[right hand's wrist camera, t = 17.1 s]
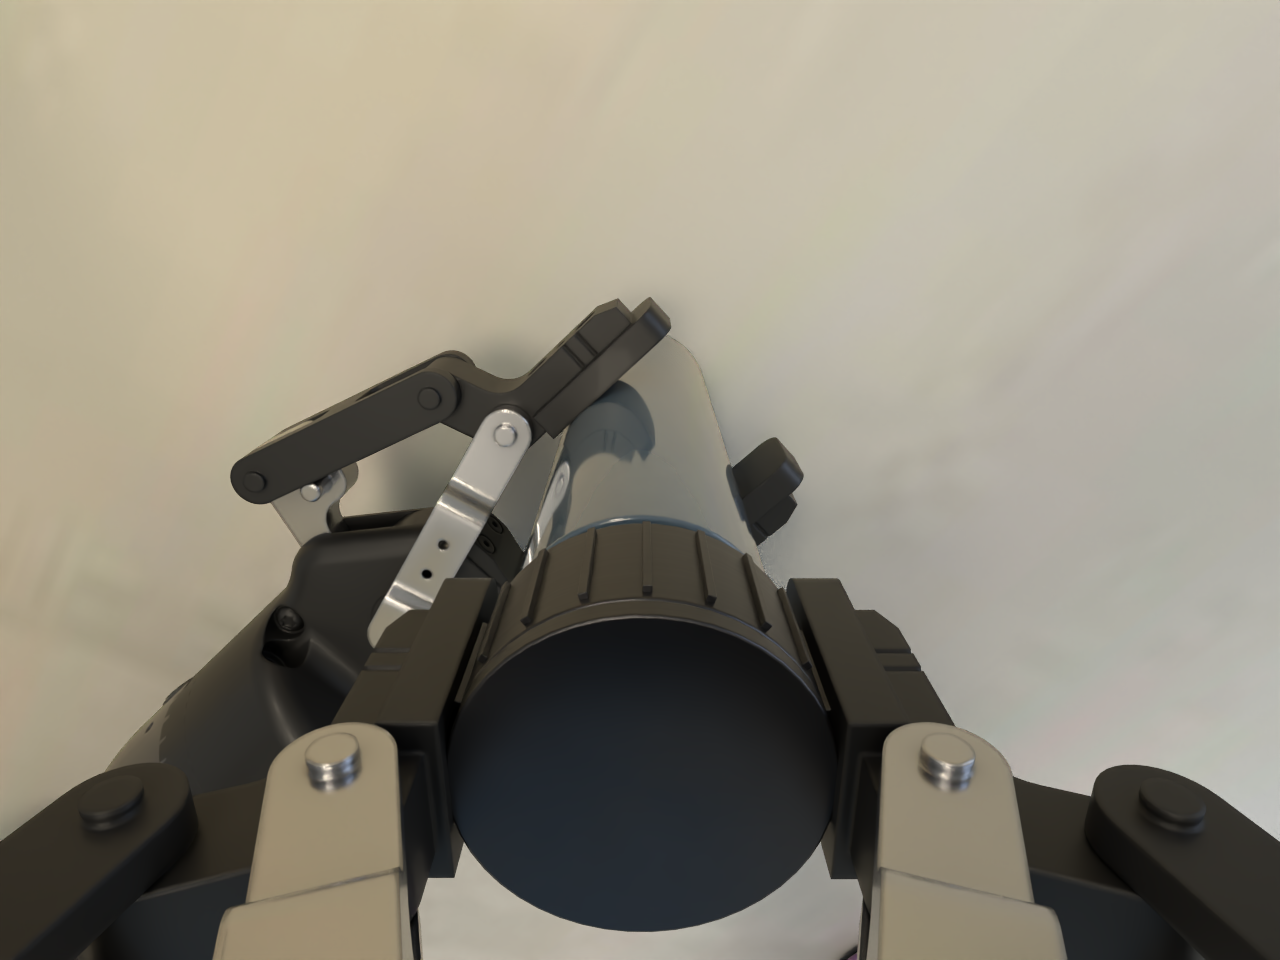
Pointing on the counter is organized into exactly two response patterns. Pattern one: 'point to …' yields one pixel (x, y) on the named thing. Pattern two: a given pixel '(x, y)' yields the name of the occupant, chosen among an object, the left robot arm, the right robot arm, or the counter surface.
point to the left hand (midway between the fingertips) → (723, 387)
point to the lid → (641, 733)
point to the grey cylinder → (645, 460)
